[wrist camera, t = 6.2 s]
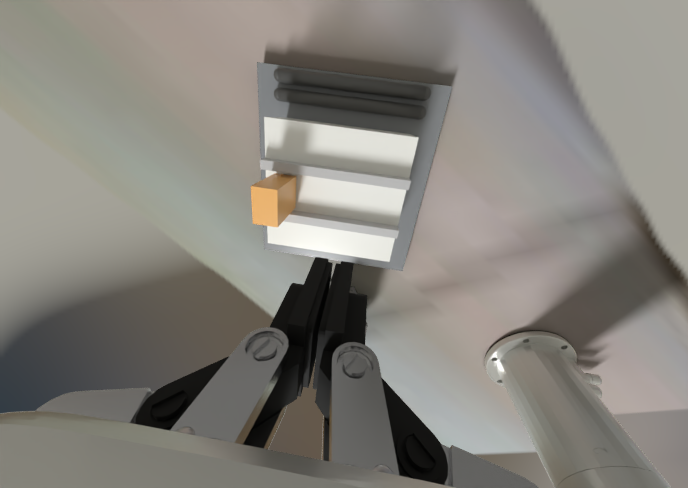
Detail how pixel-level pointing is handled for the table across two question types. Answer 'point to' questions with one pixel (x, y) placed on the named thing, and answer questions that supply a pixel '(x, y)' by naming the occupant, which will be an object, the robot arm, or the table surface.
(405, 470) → the robot arm
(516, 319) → the table surface
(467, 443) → the table surface
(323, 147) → the block
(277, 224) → the handle
